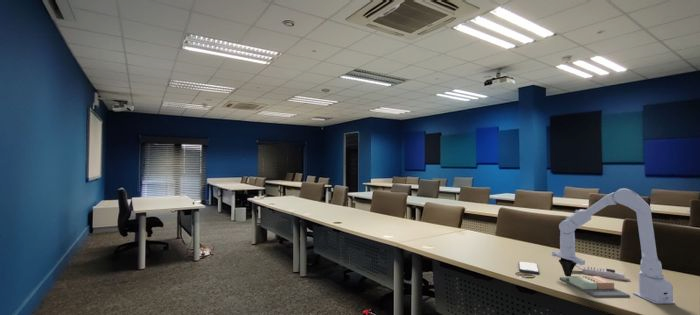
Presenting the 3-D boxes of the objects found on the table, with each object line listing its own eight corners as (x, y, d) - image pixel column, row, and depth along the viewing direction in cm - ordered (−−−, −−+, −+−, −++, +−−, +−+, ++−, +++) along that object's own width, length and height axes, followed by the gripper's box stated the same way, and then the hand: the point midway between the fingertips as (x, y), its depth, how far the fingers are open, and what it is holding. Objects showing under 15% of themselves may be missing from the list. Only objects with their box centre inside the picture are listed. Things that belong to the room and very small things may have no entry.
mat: (629, 297, 126) (629, 295, 126) (594, 297, 126) (594, 295, 126) (589, 278, 146) (589, 277, 146) (559, 279, 146) (559, 277, 146)
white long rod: (565, 256, 163) (629, 266, 147) (565, 267, 163) (629, 278, 147) (563, 259, 158) (630, 269, 142) (563, 270, 158) (630, 282, 142)
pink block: (614, 288, 132) (614, 282, 132) (598, 289, 132) (598, 282, 132) (598, 281, 140) (598, 275, 140) (583, 281, 140) (583, 275, 140)
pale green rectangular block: (597, 289, 132) (597, 282, 132) (583, 289, 132) (583, 282, 132) (582, 281, 140) (582, 275, 140) (569, 281, 140) (569, 276, 140)
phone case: (518, 264, 170) (519, 272, 155) (518, 261, 170) (519, 269, 155) (537, 266, 165) (539, 275, 151) (537, 263, 166) (539, 272, 151)
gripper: (590, 249, 139) (590, 280, 139) (559, 241, 153) (559, 270, 153) (577, 250, 137) (578, 282, 137) (548, 242, 151) (548, 271, 151)
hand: (567, 275), depth 145 cm, fingers closed
